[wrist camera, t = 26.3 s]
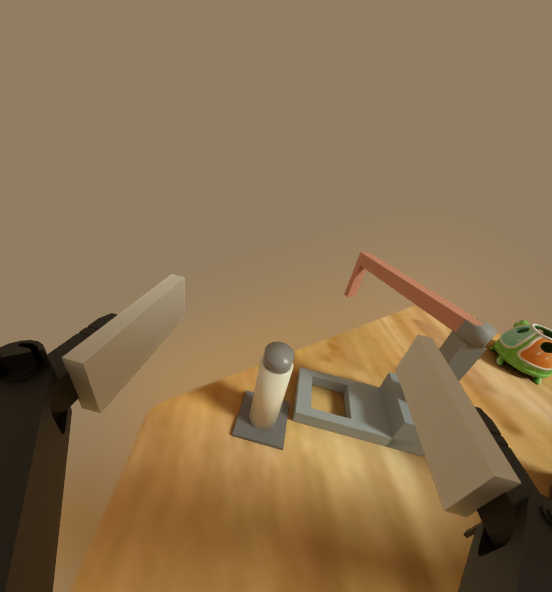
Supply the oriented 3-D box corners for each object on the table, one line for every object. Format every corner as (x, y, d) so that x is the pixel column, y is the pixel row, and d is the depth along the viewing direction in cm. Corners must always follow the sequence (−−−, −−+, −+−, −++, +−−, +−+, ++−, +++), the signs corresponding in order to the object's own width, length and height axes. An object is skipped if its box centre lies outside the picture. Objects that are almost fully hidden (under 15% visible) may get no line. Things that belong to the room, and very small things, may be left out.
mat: (288, 403, 43) (289, 402, 43) (282, 449, 36) (283, 448, 36) (246, 392, 43) (246, 390, 43) (232, 435, 37) (232, 434, 36)
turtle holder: (529, 352, 72) (560, 322, 66) (551, 393, 58) (593, 359, 52) (482, 334, 77) (507, 303, 71) (492, 367, 63) (525, 333, 57)
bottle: (278, 408, 41) (298, 345, 34) (274, 434, 37) (294, 369, 30) (253, 401, 42) (266, 337, 34) (246, 426, 38) (259, 360, 30)
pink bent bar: (457, 384, 36) (502, 332, 31) (442, 389, 35) (487, 335, 29) (354, 293, 56) (371, 252, 50) (341, 294, 54) (357, 252, 49)
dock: (404, 403, 48) (465, 321, 37) (422, 456, 39) (508, 370, 28) (297, 375, 49) (326, 288, 38) (292, 420, 40) (328, 325, 30)
